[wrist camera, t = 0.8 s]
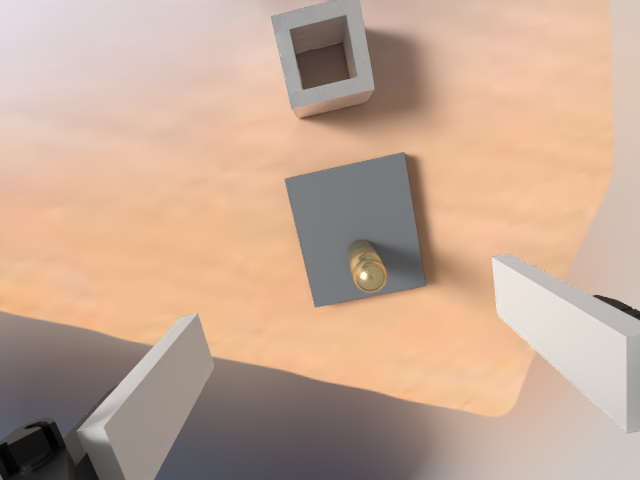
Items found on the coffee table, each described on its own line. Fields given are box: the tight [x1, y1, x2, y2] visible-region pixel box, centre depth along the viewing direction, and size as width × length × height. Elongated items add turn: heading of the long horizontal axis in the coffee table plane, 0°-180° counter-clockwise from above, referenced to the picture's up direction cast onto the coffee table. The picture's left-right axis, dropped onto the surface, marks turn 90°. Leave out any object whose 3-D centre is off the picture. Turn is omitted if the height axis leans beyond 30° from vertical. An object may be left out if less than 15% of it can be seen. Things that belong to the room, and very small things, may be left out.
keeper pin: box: [347, 239, 387, 293], centre depth 31 cm, size 3×3×9 cm
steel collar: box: [271, 0, 375, 118], centre depth 30 cm, size 7×7×6 cm
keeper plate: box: [285, 152, 426, 307], centre depth 35 cm, size 14×12×2 cm
